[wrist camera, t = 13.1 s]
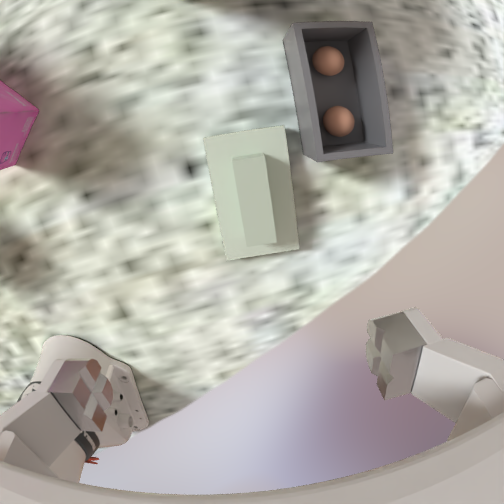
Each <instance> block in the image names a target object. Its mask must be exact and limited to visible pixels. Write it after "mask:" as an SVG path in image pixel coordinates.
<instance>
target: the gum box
mask: <svg viewBox="0 0 504 504" xmlns="http://www.w3.org/2000/svg"><path fill="white" fill-rule="evenodd" d="M38 112H39V110H38V109H37V108H36V107H35V106H34V105H32V104H31V103H30V102H28V101H27V100H26V99H24V98H23V97H22V96H21V95H19V94H18V93H17V92H15V91H14V90H12V89H11V88H9V87H8V86H7V85H6V84H4V83H3V82H2V81H1V80H0V170H2V169H4V168H7V167H10V166H13V165H15V164H16V162H17V160H18V157H19V155H20V152H21V150H22V148H23V146H24V143H25V141H26V139H27V137H28V134H29V132H30V129H31V127H32V125H33V123H34V121H35V119H36V117H37V115H38Z"/></svg>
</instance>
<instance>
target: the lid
mask: <svg viewBox="0 0 504 504" xmlns="http://www.w3.org/2000/svg"><path fill="white" fill-rule="evenodd" d="M203 141H204V146H205V152H206V157H207V163H208V168H209V173H210V179H211V184H212V189H213V194H214V199H215V205H216V210H217V215H218V220H219V225H220V230H221V235H222V240H223V245H224V250H225V255H226V260H233V259H240V258H246V257H253V256H259V255H265V254H272V253H278V252H285V251H291V250H297V249H299V240H298V230H297V221H296V212H295V203H294V195H293V186H292V178H291V170H290V163H289V155H288V148H287V140H286V133H285V126H284V125H282V126H274V127H267V128H259V129H253V130H246V131H240V132H233V133H227V134H222V135H216V136H211V137H205V138H203Z"/></svg>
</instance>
